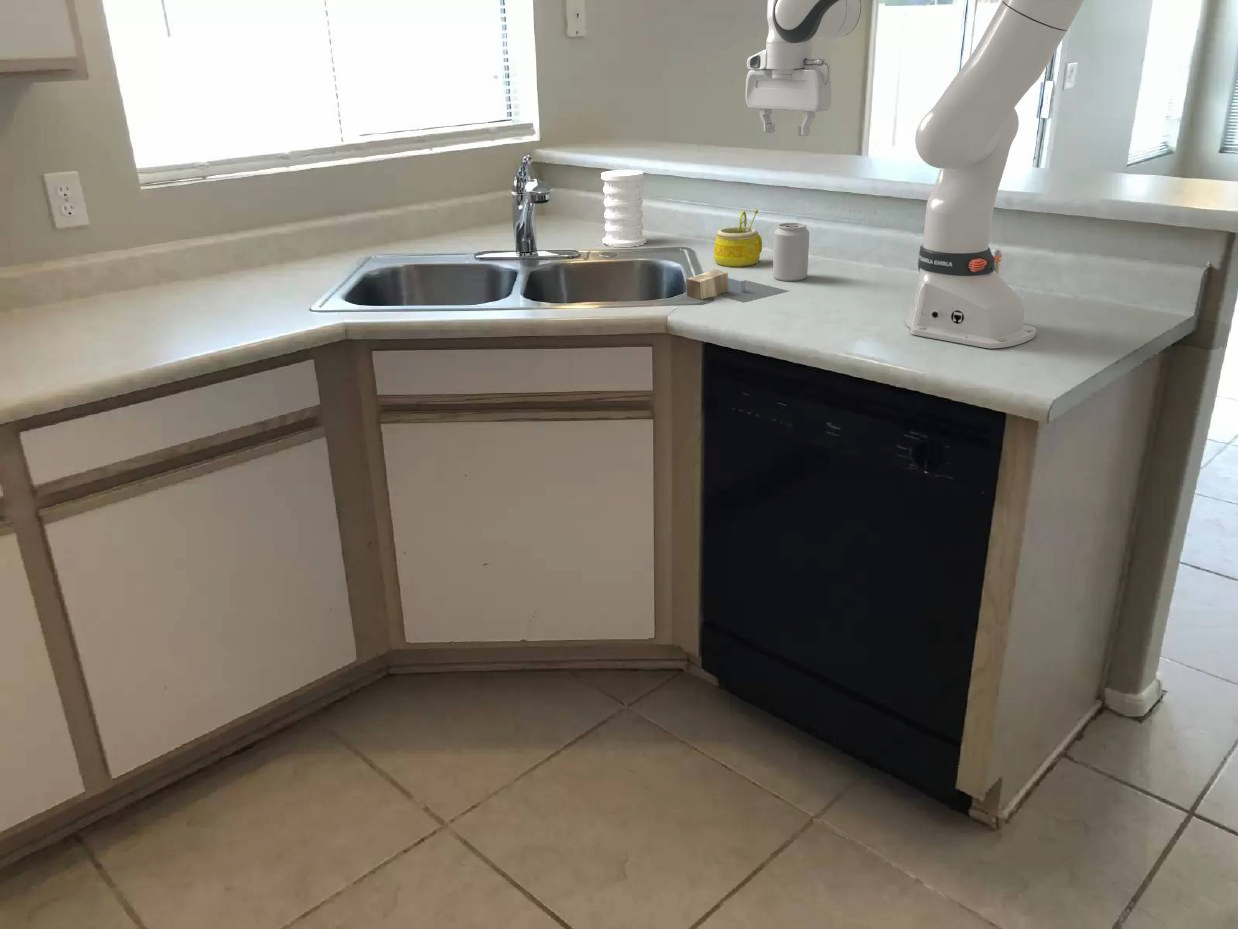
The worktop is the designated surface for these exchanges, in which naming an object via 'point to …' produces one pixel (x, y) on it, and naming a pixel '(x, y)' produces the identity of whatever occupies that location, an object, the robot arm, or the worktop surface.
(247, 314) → the worktop surface
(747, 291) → the mat
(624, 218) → the decorative container
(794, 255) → the can
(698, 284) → the block
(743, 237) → the yellow pot
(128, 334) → the worktop surface
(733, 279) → the strip
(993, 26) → the robot arm
